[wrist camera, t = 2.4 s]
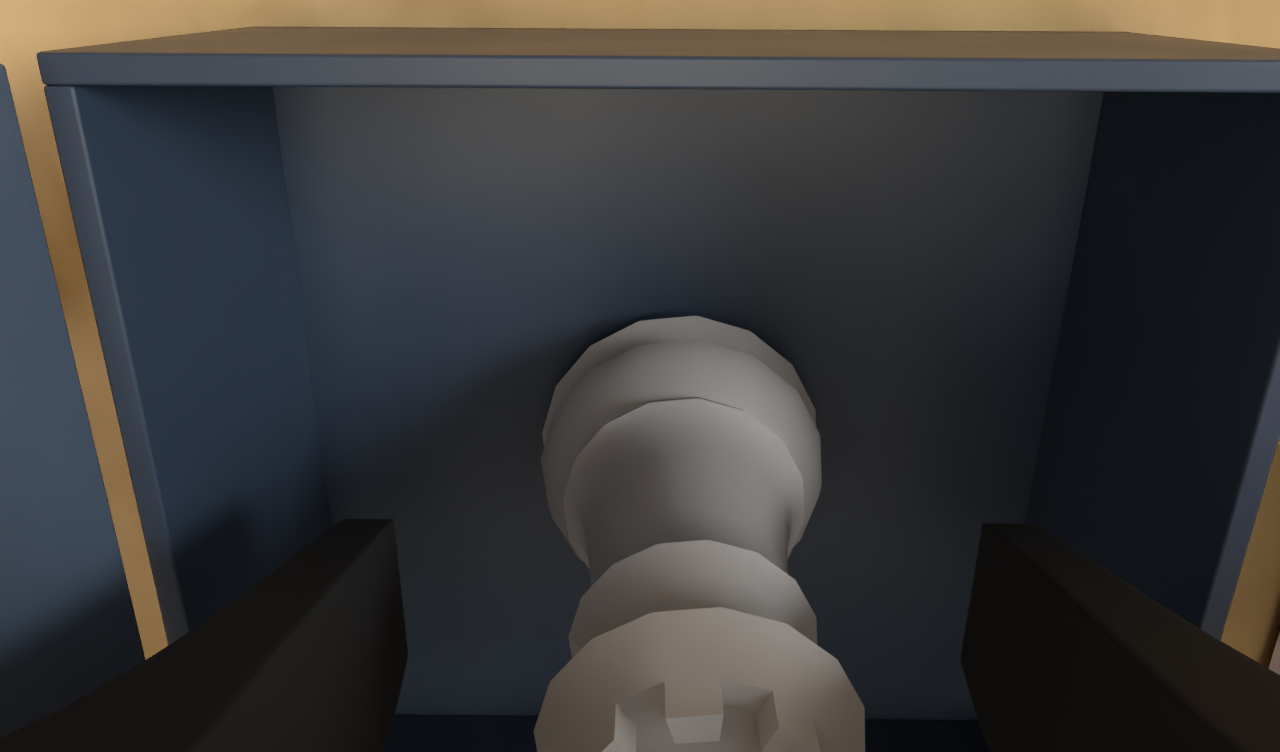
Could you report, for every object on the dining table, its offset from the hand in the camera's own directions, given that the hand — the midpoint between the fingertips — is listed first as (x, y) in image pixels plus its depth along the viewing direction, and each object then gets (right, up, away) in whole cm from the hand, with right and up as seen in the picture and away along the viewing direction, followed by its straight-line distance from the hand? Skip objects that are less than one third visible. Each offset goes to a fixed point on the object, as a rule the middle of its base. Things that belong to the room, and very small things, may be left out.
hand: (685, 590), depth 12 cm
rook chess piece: (0, +2, +4) cm, 5 cm away
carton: (0, +2, +4) cm, 5 cm away
